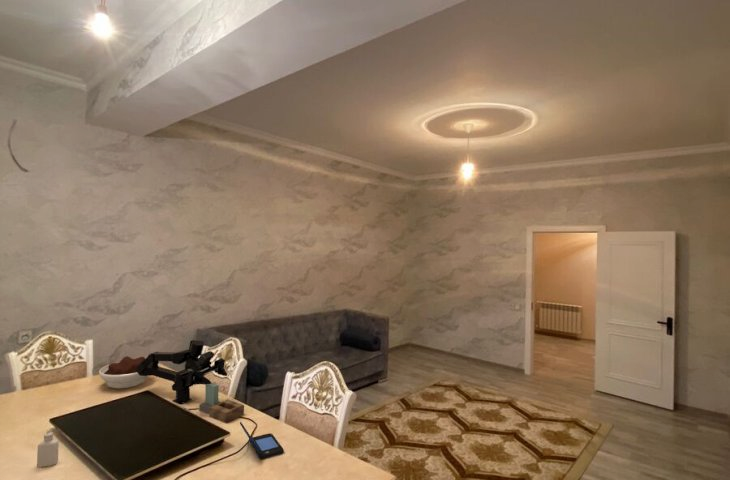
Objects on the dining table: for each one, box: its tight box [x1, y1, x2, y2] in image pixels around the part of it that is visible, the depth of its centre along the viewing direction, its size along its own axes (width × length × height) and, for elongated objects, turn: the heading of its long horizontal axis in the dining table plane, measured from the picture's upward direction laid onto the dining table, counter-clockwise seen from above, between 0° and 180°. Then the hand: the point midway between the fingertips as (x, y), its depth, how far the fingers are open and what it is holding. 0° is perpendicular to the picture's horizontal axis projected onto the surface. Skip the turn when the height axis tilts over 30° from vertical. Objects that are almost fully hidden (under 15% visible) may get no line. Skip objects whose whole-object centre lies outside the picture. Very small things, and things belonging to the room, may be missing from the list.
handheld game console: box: [239, 421, 284, 460], centre depth 148 cm, size 16×13×9 cm
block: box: [204, 382, 220, 406], centre depth 179 cm, size 6×2×9 cm, turn 60°
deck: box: [198, 400, 221, 415], centre depth 179 cm, size 8×7×3 cm
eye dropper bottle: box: [36, 428, 60, 467], centre depth 134 cm, size 4×6×12 cm
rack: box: [208, 399, 245, 424], centre depth 174 cm, size 11×10×4 cm
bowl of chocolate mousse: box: [98, 355, 148, 389], centre depth 206 cm, size 25×25×15 cm
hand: (218, 378), depth 178 cm, fingers open, 9 cm apart
